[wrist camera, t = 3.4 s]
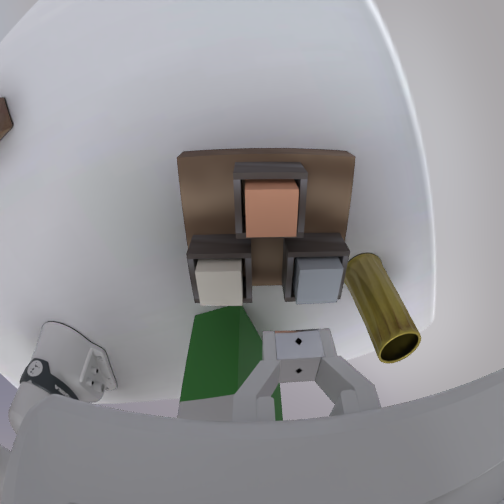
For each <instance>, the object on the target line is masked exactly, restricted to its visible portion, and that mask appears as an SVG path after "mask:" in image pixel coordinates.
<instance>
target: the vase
mask: <svg viewBox="0 0 504 504" xmlns="http://www.w3.org/2000/svg"><path fill="white" fill-rule="evenodd" d="M344 283H345V284H346V286H347V287H348V289H349V291H350V293H351V295H352V297H353V299H354V302H355V304H356V306H357V308H358V311H359V313H360V315H361V317H362V319H363V321H364V323H365V325H366V328H367V331H368V333H369V336H370V338H371V341H372V343H373V346H374V348H375V350H376V353H377V356H378V358H379V360H380V361H381V362H384V363H394V362H398V361H400V360H402V359H404V358H406V357H408V356H409V355H410V354H411V353H412V352H414V351H415V350H416V348H417V347H418V346H419V343H420V341H421V336H420V333H419V331H418V330H417V328H416V326H415V324H414V322H413V320H412V319H411V317H410V315H409V313H408V311H407V309H406V307H405V305H404V303H403V302H402V300H401V298H400V296H399V294H398V292H397V291H396V289H395V287H394V285H393V283H392V282H391V280H390V278H389V276H388V274H387V272H386V271H385V269H384V267H383V265H382V262H381V260H380V258H379V257H377V256H376V255H373V254H369V253H366V254H361V255H358V256H356V257H354V258H353V259H351V260H350V261H349V262H348V264H347V269H346V274H345V279H344Z"/></svg>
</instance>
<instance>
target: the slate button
mask: <svg viewBox="0 0 504 504" xmlns="http://www.w3.org/2000/svg"><path fill="white" fill-rule="evenodd" d="M343 269H344V268H343V266H342V264H341V262H340V260H339V258H338V256H333V257H295V263H294V276H293V290H294V295H295V300H296V304H314V303H333V302H337V298H338V293H339V289H340V284H341V279H342V274H343Z"/></svg>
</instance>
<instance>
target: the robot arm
mask: <svg viewBox="0 0 504 504" xmlns="http://www.w3.org/2000/svg"><path fill="white" fill-rule="evenodd" d="M298 381H299V382H300V381H315V382H316V383H317V384H318V386H319V387H320V388H321V389H322V390H323V391H324V392H325V394H326V395H327V396H328V397H329V398H330V400H331V401H332V402H333V403H334V404H335V406H334V408H333V410H332V412H331V413H330V415H329V417H320V418H310V419H299V420H285V421H275V407H274V399H273V398H272V397H271V395H272V394H273V392H274V390H275V389H276V387H277V385H278V383H286V382H298ZM116 388H117V384H116V381H115V378H114V375H113V373H112V370H111V367H110V364H109V361H108V358H107V355H106V352H105V351H104V350H103V349H102V348H100V347H98V346H97V345H95V344H93V343H91V342H89V341H88V340H87V339H86V338H84V337H83V336H82V335H81V334H79V333H78V332H76V331H75V330H73V329H71V328H69V327H67V326H65V325H63V324H60V323H56V322H47V323H45V324H44V325H43V326H42V330H41V334H40V337H39V339H38V343H37V346H36V348H35V351H34V353H33V356H32V359H31V361H30V363H29V364H28V366H27V367H26V368H25V370H24V373H23V374H22V376H21V379H20V386H19V388H18V391H17V393H16V395H15V397H14V400H13V402H12V404H11V406H10V409H9V415H8V416H9V421H10V424H11V426H12V428H13V430H14V431H15V433H16V434H17V436H16V438H15V441H14V444H13V447H12V450H11V451H10V450H8V449H6V448H5V447H4V446H2V445H1V444H0V504H504V368H503V369H501V370H498V371H496V372H494V373H491V374H489V375H487V376H484V377H482V378H479V379H477V380H474V381H472V382H469V383H466V384H464V385H461V386H458V387H455V388H453V389H449V390H446V391H443V392H440V393H437V394H434V395H430V396H427V397H424V398H420V399H416V400H413V401H409V402H405V403H401V404H397V405H392V406H388V407H383V408H381V405H380V402H379V398H378V395H377V392H376V388H375V385H374V384H373V383H371V382H370V381H369V380H368V379H367V378H365V377H364V376H363V375H362V374H361V373H360V372H358V371H357V370H356V369H355V368H354V367H353V366H352V365H350V364H349V363H348V362H347V361H346V360H345V359H343V358H342V357H341V356H337V353H336V349H335V346H334V342H333V338H332V335H331V331H330V329H329V328H325V329H309V330H296V331H263V336H262V361H260V362H259V363H258V365H257V366H256V367H255V369H254V370H253V371H252V373H251V374H250V375H249V377H248V378H247V379H246V380H245V382H244V383H243V384H242V386H241V387H240V388H239V389H238V391H237V392H236V393H235V395H234V396H233V415H232V421H207V420H192V419H181V418H171V417H163V416H155V415H148V414H141V413H135V412H129V411H124V410H119V409H114V408H109V407H104V406H100V405H96V404H92V402H97V401H99V400H100V399H101V398H102V396H103V394H104V391H105V390H115V389H116Z"/></svg>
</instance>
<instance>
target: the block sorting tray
mask: <svg viewBox="0 0 504 504" xmlns="http://www.w3.org/2000/svg"><path fill="white" fill-rule="evenodd" d="M177 165H178V174H179V183H180V192H181V201H182V209H183V216H184V224H185V231H186V238H187V245H188V251H187V254H186V255H187V261H188V267H189V273H190V279H191V285H192V290H193V296H194V301H195V303H200V300H199V294H198V288H197V282H196V275H195V270H196V266H197V262H198V259H238V258H242V275H243V303H252V286H262V285H282V286H283V293H284V299H285V302H290V301H296V300H295V295H294V290H293V276H294V263H295V257H333V256H338V258H339V260H340V262H341V264H342V266H343V268H344V269H343V274H342V279H341V284H340V289H339V293H338V298H337V299H340V297H341V293H342V288H343V284H344V279H345V274H346V269H347V264H348V259H349V254H350V250H349V249H348V247H347V245H346V243H345V236H346V230H347V223H348V216H349V209H350V201H351V193H352V185H353V176H354V166H355V156H353V155H352V154H350V153H349V152H347V151H340V150H323V149H296V148H244V149H217V150H200V151H186V152H182V153H181V154H180V155H179V156H178V157H177ZM245 179H294V180H295V182H296V184H297V186H298V188H299V199H298V217H297V233H296V237H247V238H246V211H245Z"/></svg>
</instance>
